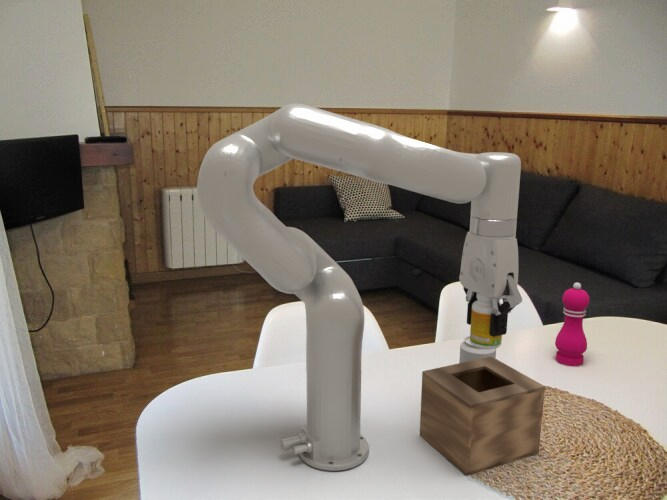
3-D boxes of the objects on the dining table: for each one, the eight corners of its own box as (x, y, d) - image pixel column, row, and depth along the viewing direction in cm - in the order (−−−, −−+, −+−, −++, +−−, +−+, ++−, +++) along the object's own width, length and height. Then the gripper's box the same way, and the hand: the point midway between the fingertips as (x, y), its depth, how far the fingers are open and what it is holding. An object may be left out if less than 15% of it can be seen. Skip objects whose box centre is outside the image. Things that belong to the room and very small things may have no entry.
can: (493, 400, 124) (498, 347, 121) (457, 397, 126) (460, 344, 123) (491, 385, 131) (495, 334, 129) (457, 381, 133) (460, 331, 130)
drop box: (466, 475, 99) (470, 405, 96) (419, 435, 111) (422, 371, 108) (538, 453, 105) (545, 386, 102) (487, 416, 118) (491, 356, 115)
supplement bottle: (495, 352, 100) (499, 297, 98) (465, 345, 103) (468, 292, 101) (505, 341, 104) (508, 289, 102) (475, 335, 107) (478, 284, 105)
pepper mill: (590, 367, 141) (599, 287, 136) (559, 367, 141) (567, 286, 136) (578, 355, 148) (586, 278, 143) (549, 354, 148) (556, 278, 143)
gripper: (444, 220, 105) (439, 316, 109) (510, 239, 90) (502, 350, 94) (477, 217, 108) (472, 311, 112) (547, 235, 93) (538, 342, 97)
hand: (486, 328), depth 103 cm, fingers closed on supplement bottle, 5 cm apart
